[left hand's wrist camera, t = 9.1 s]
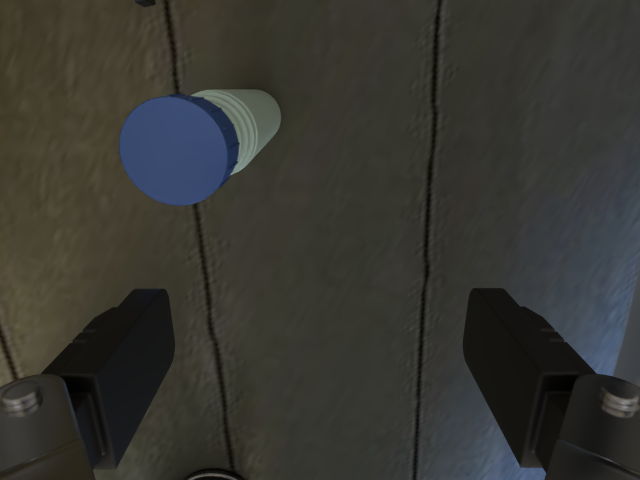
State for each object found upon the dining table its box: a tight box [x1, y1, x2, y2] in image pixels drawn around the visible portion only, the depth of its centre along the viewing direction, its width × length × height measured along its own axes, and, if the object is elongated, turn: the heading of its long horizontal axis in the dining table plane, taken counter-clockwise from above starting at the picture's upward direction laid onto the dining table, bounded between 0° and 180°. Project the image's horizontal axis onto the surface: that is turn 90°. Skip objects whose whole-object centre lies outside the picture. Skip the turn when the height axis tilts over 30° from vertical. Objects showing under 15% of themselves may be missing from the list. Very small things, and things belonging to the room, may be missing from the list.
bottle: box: [191, 89, 281, 175], centre depth 26 cm, size 4×4×22 cm
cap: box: [119, 94, 240, 205], centre depth 17 cm, size 4×4×2 cm
